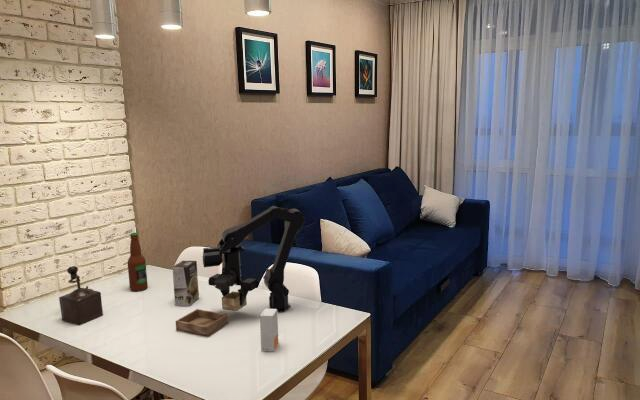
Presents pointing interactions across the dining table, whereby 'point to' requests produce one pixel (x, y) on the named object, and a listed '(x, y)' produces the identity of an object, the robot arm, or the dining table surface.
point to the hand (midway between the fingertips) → (234, 304)
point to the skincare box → (269, 330)
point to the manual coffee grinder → (80, 302)
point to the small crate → (232, 301)
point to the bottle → (136, 266)
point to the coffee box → (185, 283)
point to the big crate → (202, 322)
